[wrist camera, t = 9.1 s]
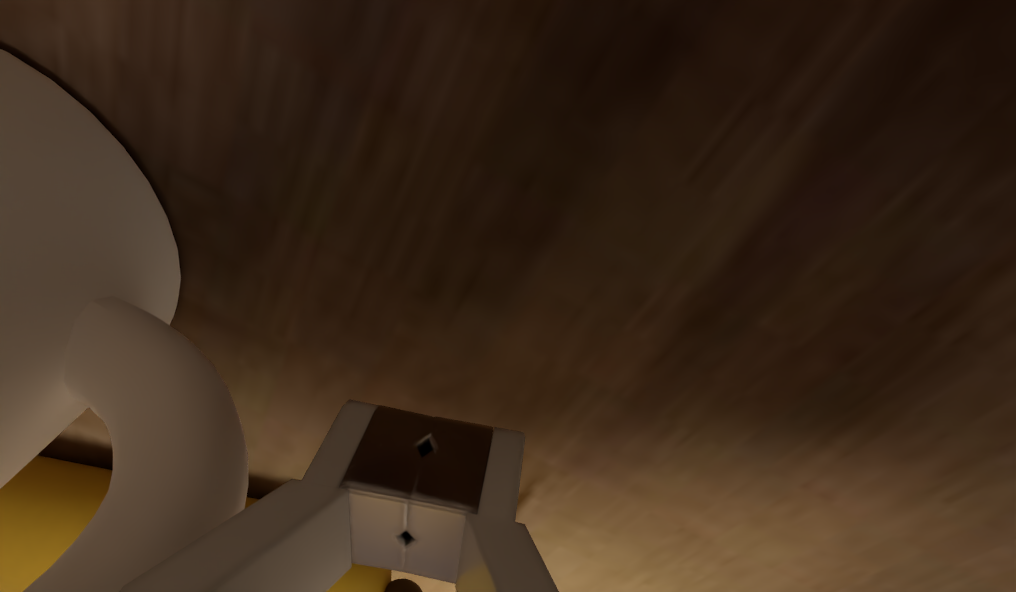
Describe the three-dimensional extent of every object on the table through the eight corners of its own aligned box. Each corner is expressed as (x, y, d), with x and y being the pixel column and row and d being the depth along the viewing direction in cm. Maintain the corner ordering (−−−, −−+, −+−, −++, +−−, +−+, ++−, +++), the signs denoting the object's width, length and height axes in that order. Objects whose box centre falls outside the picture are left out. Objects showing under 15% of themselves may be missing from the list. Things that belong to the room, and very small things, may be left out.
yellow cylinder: (444, 510, 15) (410, 645, 12) (437, 575, 17) (406, 705, 14) (-32, 416, 16) (-178, 524, 13) (14, 489, 18) (-103, 598, 15)
